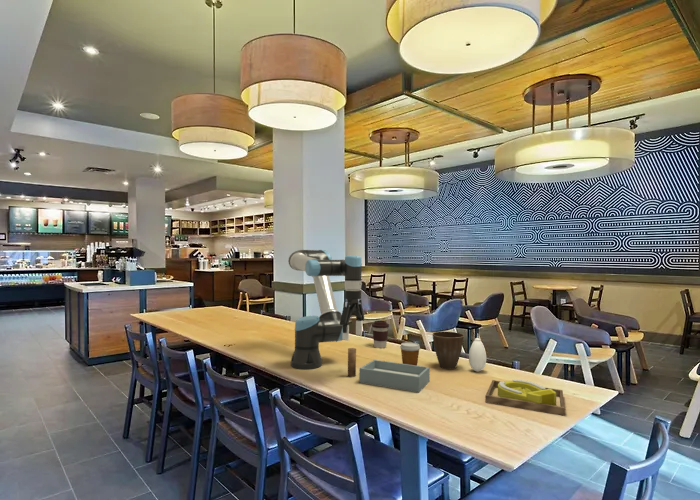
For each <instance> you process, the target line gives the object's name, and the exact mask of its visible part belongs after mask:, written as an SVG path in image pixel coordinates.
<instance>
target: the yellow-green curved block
mask: <svg viewBox="0 0 700 500" xmlns="http://www.w3.org/2000/svg"><path fill="white" fill-rule="evenodd" d="M499 381H500V380H499ZM546 388H547V387H545V388H544V386H543V385H540V384H538V383H535V382H532V381H528V380H523V379H515V378H514V379H512V380H505V381H504V380H503V381H500V382H499V384H498V388H497V397H503V398H510V399H516V400H522V401H529V402H535V403H541V404H548V405H554V406H557V396H556V392H555V391H553V390H552V389H553V388H552V389H546Z"/></svg>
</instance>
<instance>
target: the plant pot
mask: <svg viewBox="0 0 700 500" xmlns="http://www.w3.org/2000/svg"><path fill="white" fill-rule="evenodd" d="M464 339H465V335H464V334H463V333H461V332H455V331H435V332H432V340H433V347H434V351H435V355H436V359H437V362H438V364H439V367H440V368H442V369H444V370H455V369H456V368H457V365H458V363H459V360H460V357H461V353H462V349H463V344H464Z"/></svg>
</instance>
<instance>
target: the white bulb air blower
mask: <svg viewBox="0 0 700 500" xmlns="http://www.w3.org/2000/svg"><path fill="white" fill-rule="evenodd" d="M481 340H482V339H481V338H479V333H477V337H476V338H474V340H473V342H472V344H471V345H470V348H469V351H468V363H469V366H470V367H471V369H472V370H473V371H475V372H477V373H479V372H481V371H482V370H484V369H485V366H486V364H487V351H486V349H485V346H484V343H483V342H482V341H481Z"/></svg>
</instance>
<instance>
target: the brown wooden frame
mask: <svg viewBox="0 0 700 500" xmlns="http://www.w3.org/2000/svg"><path fill="white" fill-rule="evenodd" d="M499 382H500V380H494V379H492V380H491V382H490V385H489V387H488V388H487V390H486V394H485V397H484V398H485V399H484V400H485V401H484V402H485V403H487V404H488V403H489V404H493V405H501V406H505V407H506V406H507V407H511V408H518V409H524V410H530V411H536V412H543V413H547V414H554V415H561V416H565V401H564V393H563V392H564V390H563V389H558V388H550V387H546V386H545V387H544V386H543V387H544V388H546V389H552V390H553V391H555V392H556V398H557V397H558V398H559V403H560V404H559V405H556V406H554V405H548V404H541V403H535V402H529V401H522V400H516V399H510V398H503V397H499V396H498V395H492V394H493V392H494V390H495V388H497V387H498V384H499Z"/></svg>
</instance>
